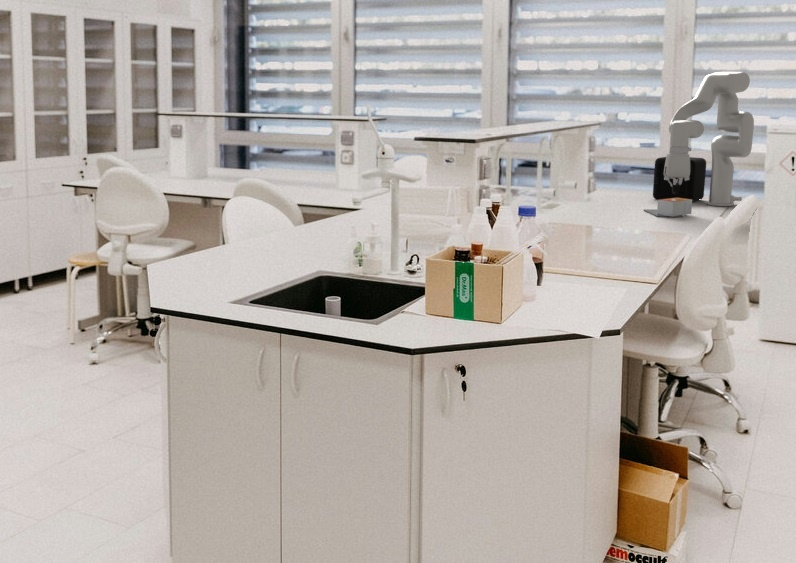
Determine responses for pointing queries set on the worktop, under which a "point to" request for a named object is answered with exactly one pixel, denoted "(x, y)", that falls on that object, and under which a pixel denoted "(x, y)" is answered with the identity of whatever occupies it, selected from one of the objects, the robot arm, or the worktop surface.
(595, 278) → the worktop surface
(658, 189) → the air purifier
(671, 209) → the small box
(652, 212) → the rubber mat
